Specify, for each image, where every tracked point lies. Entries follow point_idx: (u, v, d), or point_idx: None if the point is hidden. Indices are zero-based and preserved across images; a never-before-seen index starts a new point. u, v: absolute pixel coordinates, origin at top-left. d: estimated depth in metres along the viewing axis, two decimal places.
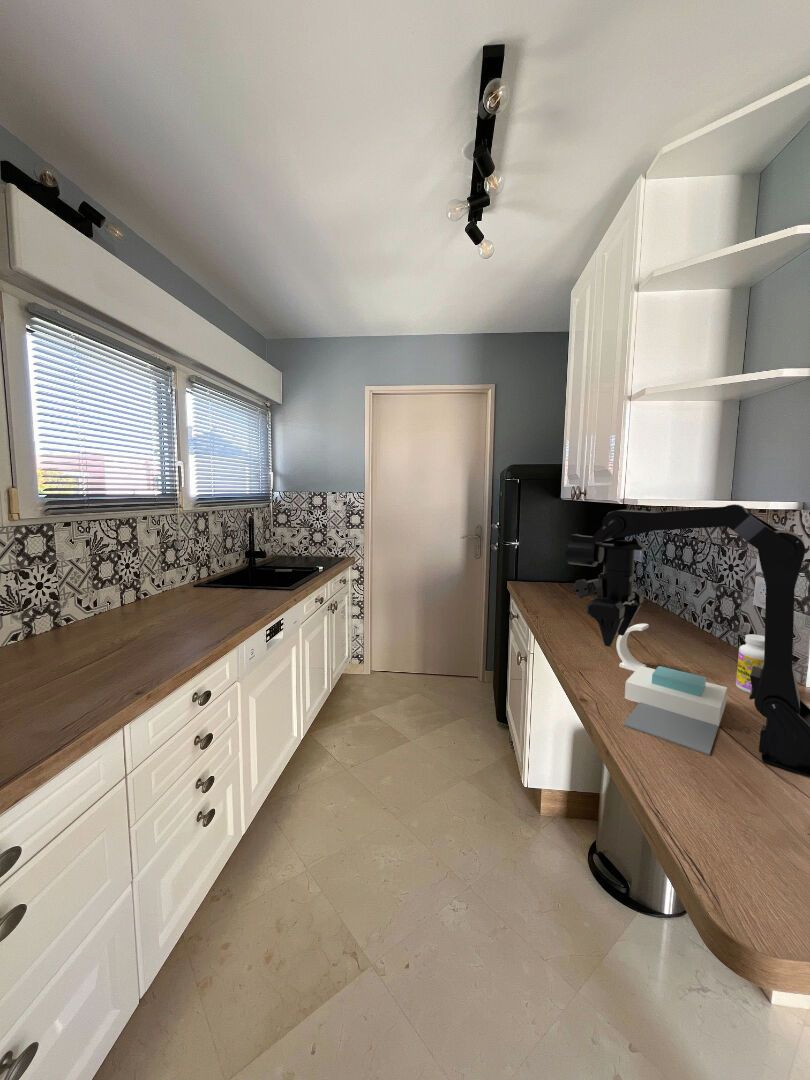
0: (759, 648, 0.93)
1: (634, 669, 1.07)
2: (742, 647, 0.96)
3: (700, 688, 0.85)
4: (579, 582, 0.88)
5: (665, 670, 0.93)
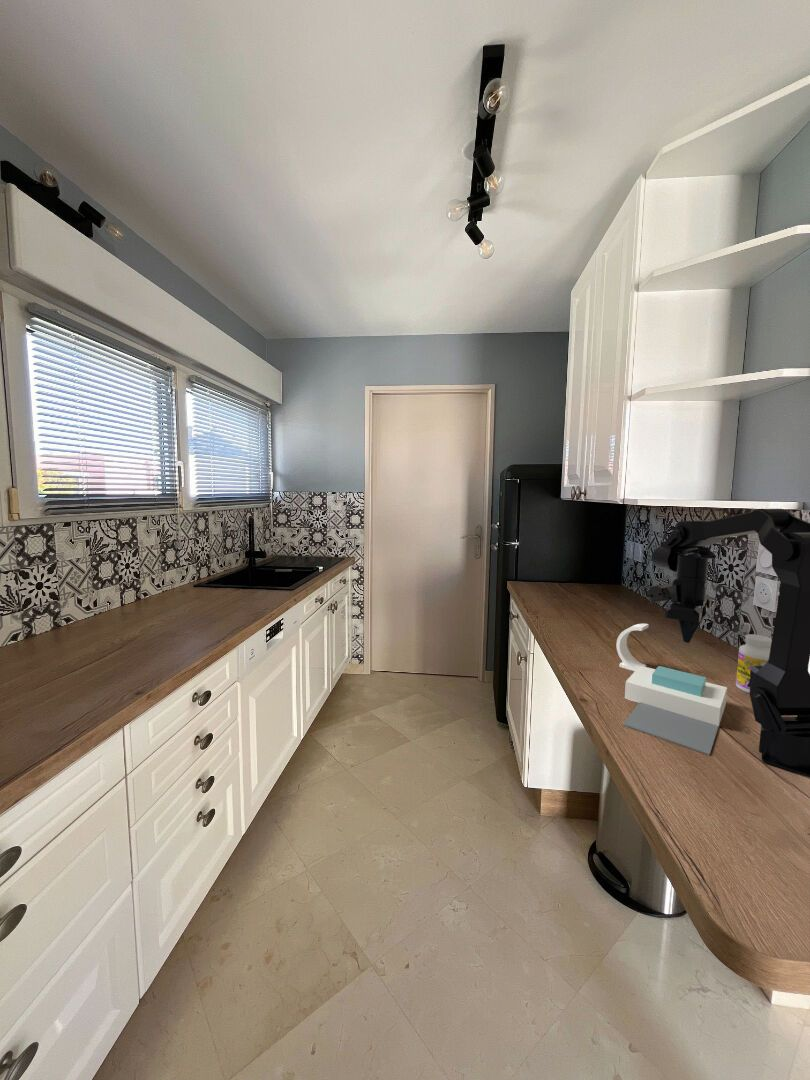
0: (759, 648, 0.93)
1: (634, 669, 1.07)
2: (742, 647, 0.96)
3: (700, 688, 0.85)
4: (653, 588, 0.94)
5: (665, 670, 0.93)
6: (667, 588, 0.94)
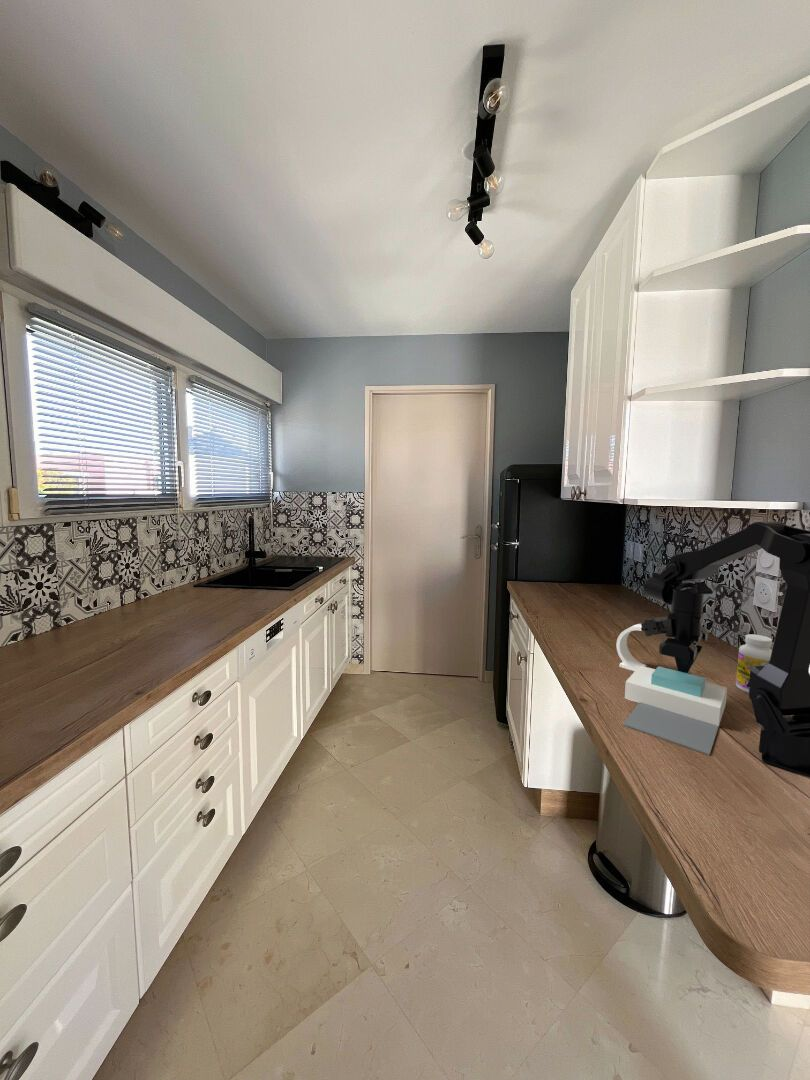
0: (759, 648, 0.93)
1: (634, 669, 1.07)
2: (742, 647, 0.96)
3: (699, 689, 0.85)
4: (648, 621, 0.93)
5: (665, 671, 0.93)
6: (662, 622, 0.93)
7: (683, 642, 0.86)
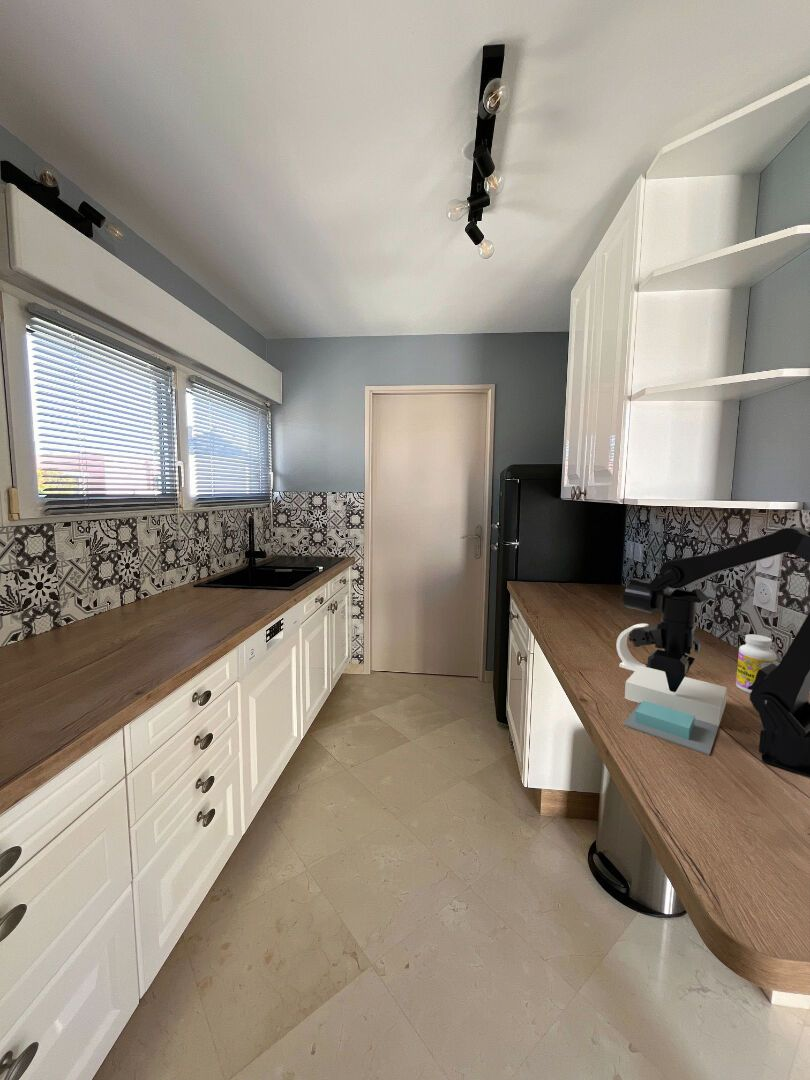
0: (759, 648, 0.93)
1: (634, 669, 1.07)
2: (742, 647, 0.96)
3: None
4: (636, 631, 0.86)
5: None
6: (651, 632, 0.86)
7: (673, 655, 0.80)
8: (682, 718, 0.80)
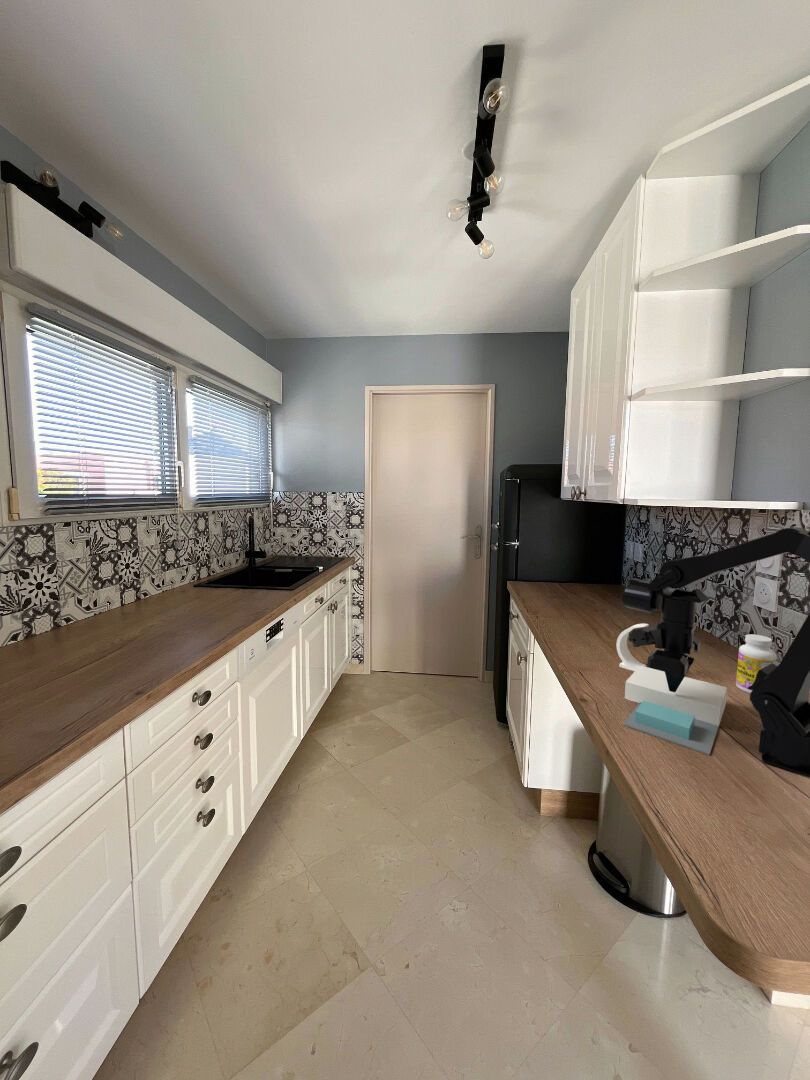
0: (759, 648, 0.93)
1: (634, 669, 1.07)
2: (742, 647, 0.96)
3: None
4: (636, 631, 0.86)
5: None
6: (651, 632, 0.86)
7: (673, 655, 0.79)
8: (682, 718, 0.80)
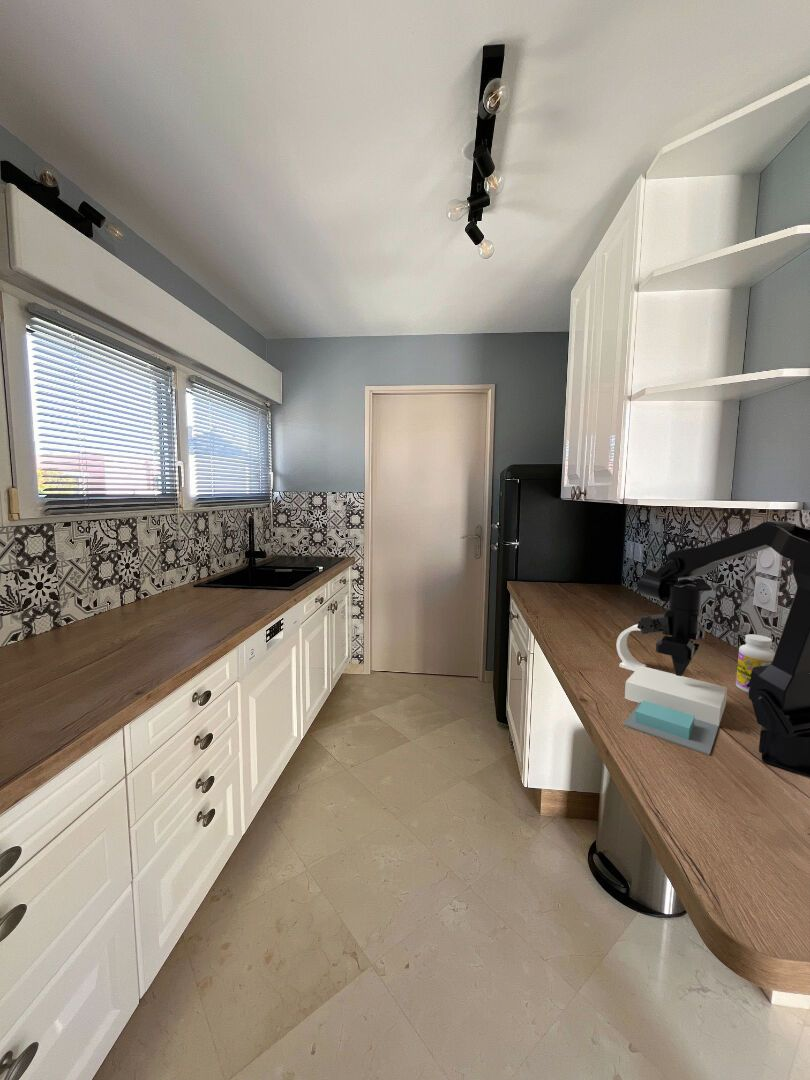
0: (759, 648, 0.93)
1: (634, 669, 1.07)
2: (742, 647, 0.96)
3: None
4: (645, 619, 0.91)
5: None
6: (659, 619, 0.91)
7: (680, 640, 0.84)
8: (682, 718, 0.80)
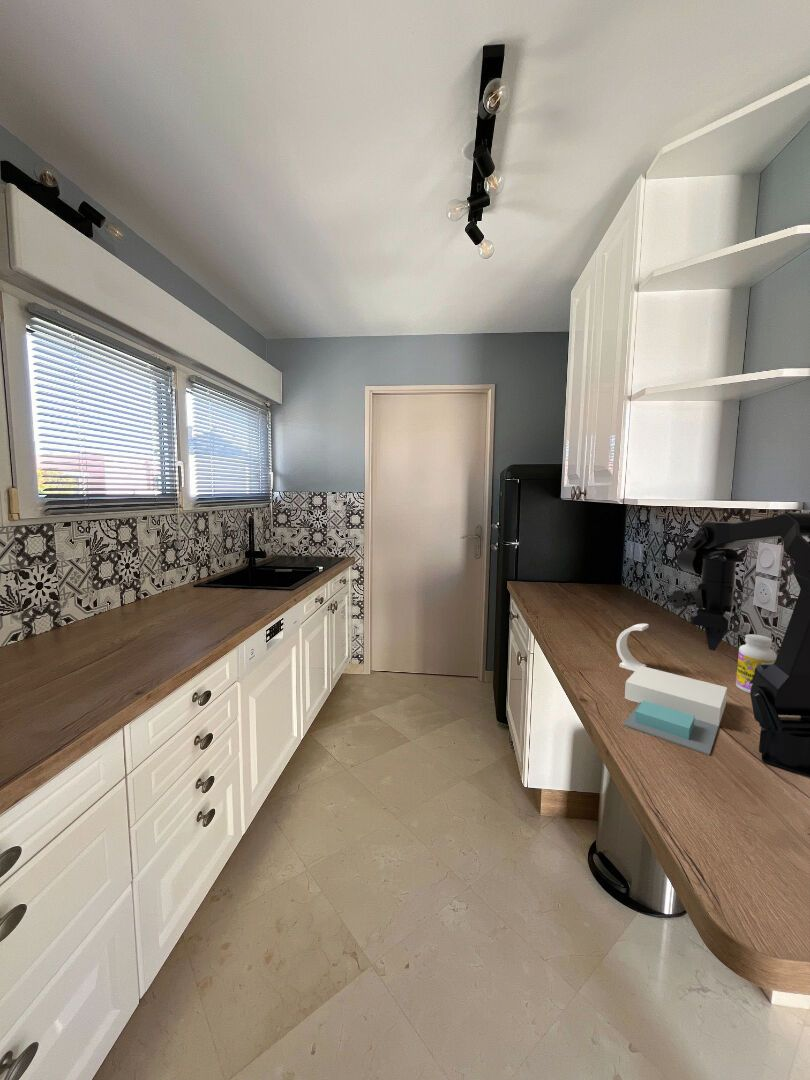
0: (759, 648, 0.93)
1: (634, 669, 1.07)
2: (742, 647, 0.96)
3: None
4: (677, 592, 0.90)
5: None
6: (691, 593, 0.90)
7: (716, 612, 0.83)
8: (682, 718, 0.80)
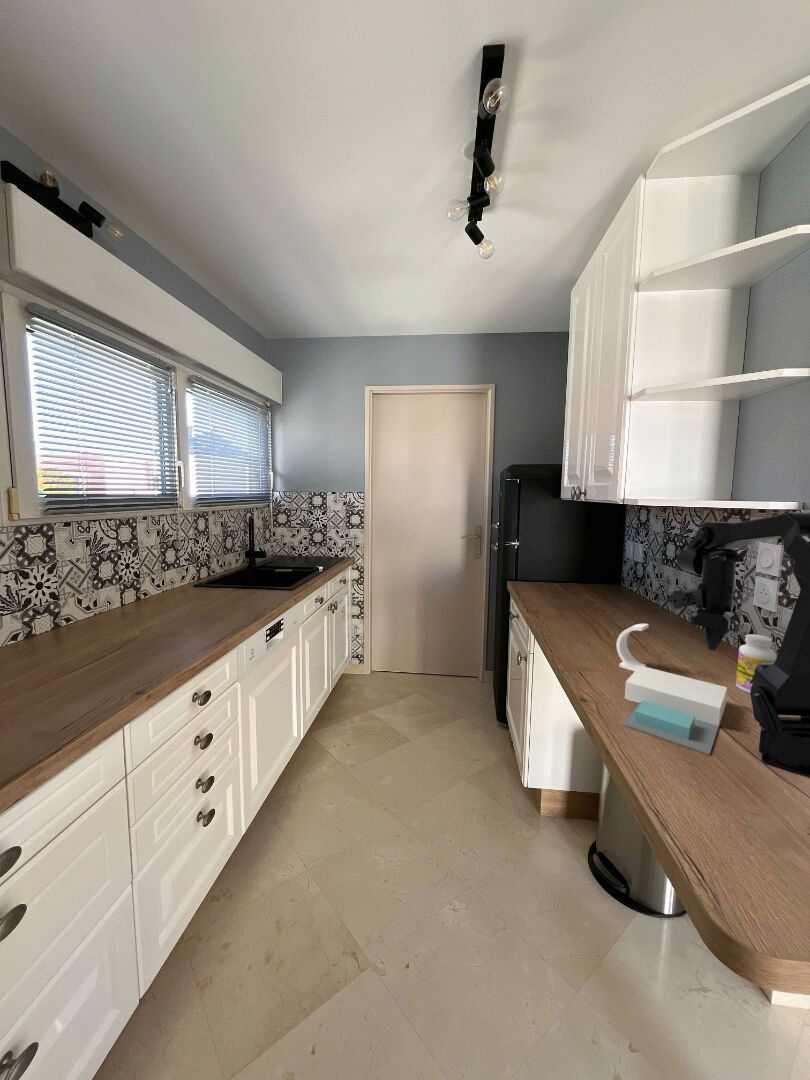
0: (759, 648, 0.93)
1: (634, 669, 1.07)
2: (742, 647, 0.96)
3: None
4: (677, 592, 0.90)
5: None
6: (691, 593, 0.90)
7: (716, 612, 0.83)
8: (682, 718, 0.80)
